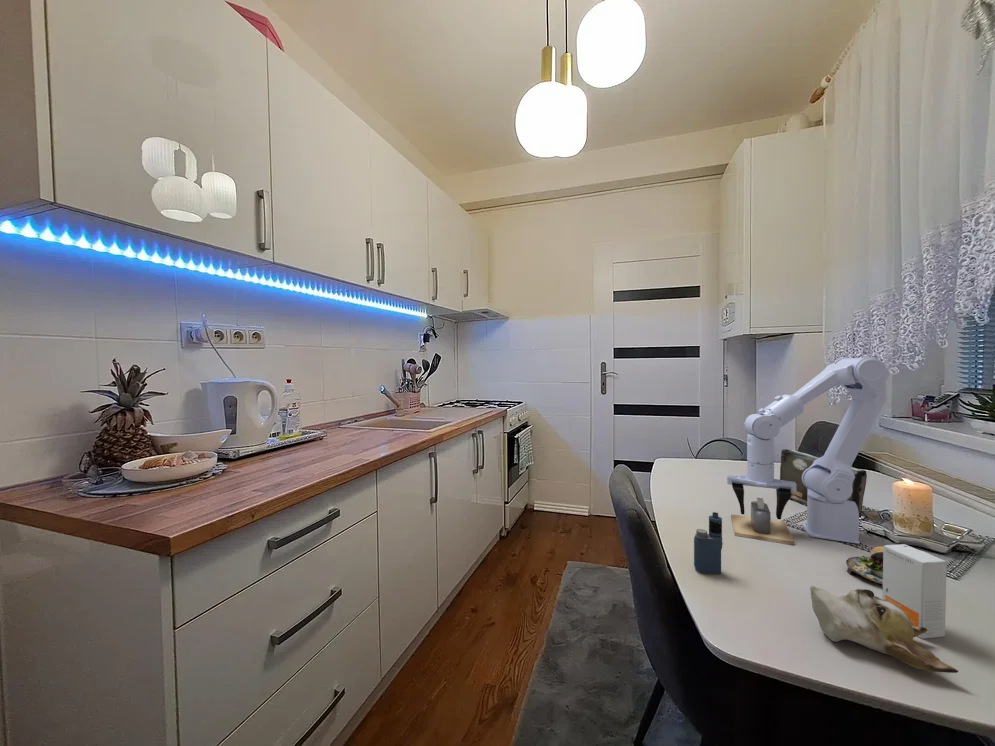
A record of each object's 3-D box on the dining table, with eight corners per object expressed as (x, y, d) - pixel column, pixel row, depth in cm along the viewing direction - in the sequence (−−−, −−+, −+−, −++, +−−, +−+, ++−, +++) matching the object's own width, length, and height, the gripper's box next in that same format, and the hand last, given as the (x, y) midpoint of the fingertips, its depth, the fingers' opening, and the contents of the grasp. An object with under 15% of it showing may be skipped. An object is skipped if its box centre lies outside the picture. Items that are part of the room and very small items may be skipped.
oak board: (784, 524, 104) (784, 521, 104) (794, 545, 93) (794, 541, 93) (731, 517, 110) (731, 514, 110) (734, 535, 98) (734, 532, 98)
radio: (873, 520, 107) (874, 465, 106) (844, 522, 106) (845, 466, 105) (798, 492, 130) (798, 447, 129) (774, 494, 129) (774, 448, 128)
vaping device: (724, 575, 80) (724, 515, 80) (696, 572, 81) (696, 514, 81) (719, 568, 83) (719, 511, 82) (692, 566, 84) (692, 509, 83)
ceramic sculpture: (805, 561, 68) (928, 590, 61) (801, 610, 68) (923, 645, 61) (818, 593, 59) (965, 632, 51) (813, 650, 59) (958, 696, 52)
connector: (765, 521, 105) (766, 494, 105) (771, 535, 96) (771, 506, 96) (750, 519, 106) (750, 493, 106) (754, 532, 98) (754, 504, 98)
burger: (838, 576, 80) (838, 539, 80) (853, 558, 87) (853, 524, 87) (926, 605, 70) (926, 563, 70) (934, 582, 77) (935, 544, 77)
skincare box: (880, 615, 67) (881, 544, 67) (903, 613, 68) (904, 543, 67) (922, 640, 61) (923, 562, 61) (947, 638, 61) (948, 560, 61)
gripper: (728, 462, 101) (728, 516, 101) (799, 468, 94) (798, 526, 94) (726, 456, 107) (726, 507, 107) (793, 462, 100) (792, 515, 101)
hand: (760, 515), depth 101 cm, fingers open, 7 cm apart
